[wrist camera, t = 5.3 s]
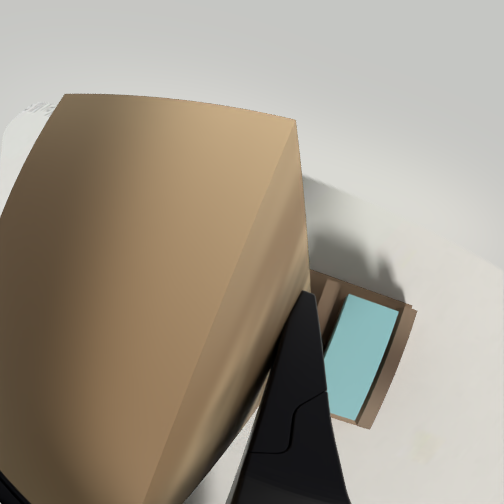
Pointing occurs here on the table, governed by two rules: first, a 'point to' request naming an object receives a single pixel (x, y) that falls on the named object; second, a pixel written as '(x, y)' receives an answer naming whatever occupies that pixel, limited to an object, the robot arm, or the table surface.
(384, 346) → the offcut upper
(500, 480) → the table surface
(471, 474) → the table surface
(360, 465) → the table surface
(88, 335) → the oak board
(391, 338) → the rack
